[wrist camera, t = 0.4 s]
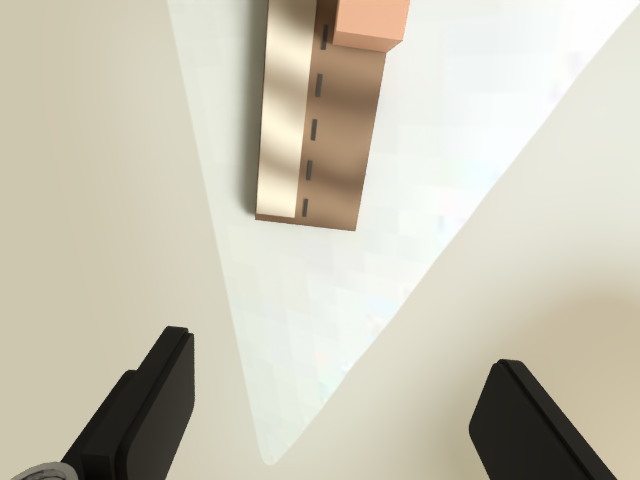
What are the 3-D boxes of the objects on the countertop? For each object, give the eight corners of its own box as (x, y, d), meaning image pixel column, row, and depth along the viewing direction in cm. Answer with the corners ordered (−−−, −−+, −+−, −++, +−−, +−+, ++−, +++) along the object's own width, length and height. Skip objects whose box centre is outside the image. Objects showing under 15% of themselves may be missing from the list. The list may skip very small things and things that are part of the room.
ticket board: (277, -107, 28) (273, -125, 26) (407, -85, 29) (414, -100, 27) (257, 215, 38) (253, 222, 36) (353, 226, 39) (356, 233, 37)
